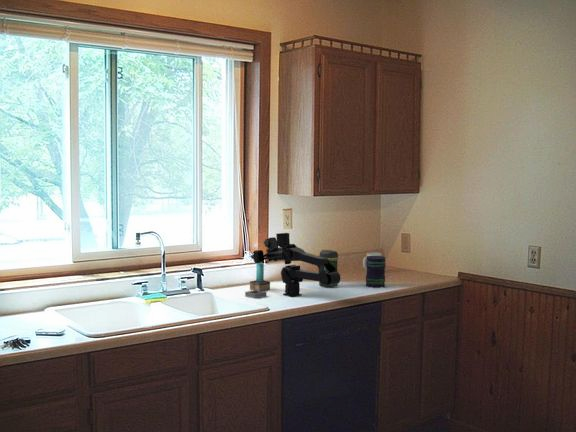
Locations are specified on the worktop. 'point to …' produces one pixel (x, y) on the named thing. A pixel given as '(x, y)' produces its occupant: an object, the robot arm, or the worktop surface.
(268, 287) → the upper stand
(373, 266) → the storage jar
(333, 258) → the coffee jar
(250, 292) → the lower dock
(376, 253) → the mug
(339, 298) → the worktop surface
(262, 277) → the dowel plug
